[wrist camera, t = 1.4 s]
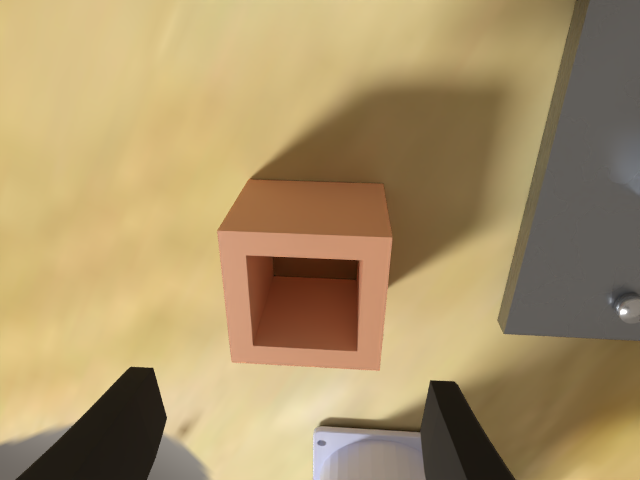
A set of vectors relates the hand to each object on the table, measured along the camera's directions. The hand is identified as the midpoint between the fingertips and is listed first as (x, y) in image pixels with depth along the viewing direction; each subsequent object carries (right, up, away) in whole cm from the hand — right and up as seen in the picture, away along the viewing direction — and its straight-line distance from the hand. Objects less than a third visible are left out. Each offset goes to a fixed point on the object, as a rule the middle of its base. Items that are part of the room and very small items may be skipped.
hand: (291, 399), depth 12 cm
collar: (+1, +4, +9) cm, 10 cm away
